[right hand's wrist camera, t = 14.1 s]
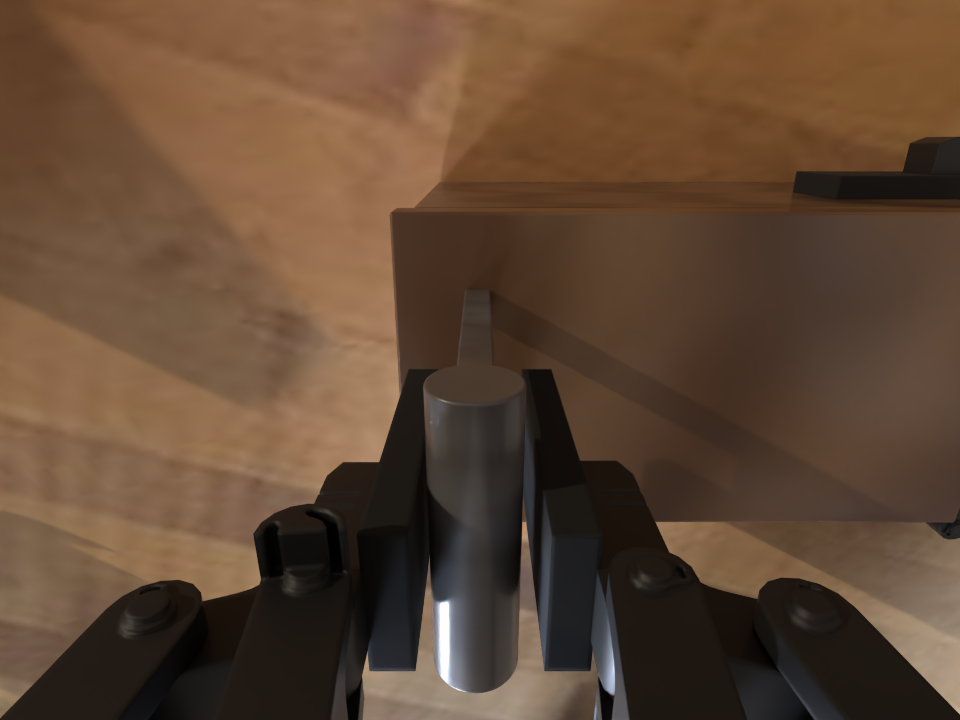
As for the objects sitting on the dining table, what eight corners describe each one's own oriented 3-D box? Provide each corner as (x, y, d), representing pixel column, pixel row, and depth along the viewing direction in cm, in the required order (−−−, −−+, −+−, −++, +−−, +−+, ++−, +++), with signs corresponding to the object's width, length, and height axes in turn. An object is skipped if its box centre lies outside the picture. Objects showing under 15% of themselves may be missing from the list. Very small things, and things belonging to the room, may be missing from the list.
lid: (410, 502, 20) (358, 764, 11) (394, 207, 16) (305, 277, 8) (929, 503, 20) (1255, 765, 11) (1029, 207, 16) (1607, 277, 8)
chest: (443, 381, 29) (424, 501, 20) (438, 182, 26) (412, 207, 16) (779, 381, 29) (928, 502, 20) (820, 182, 26) (1027, 207, 16)
